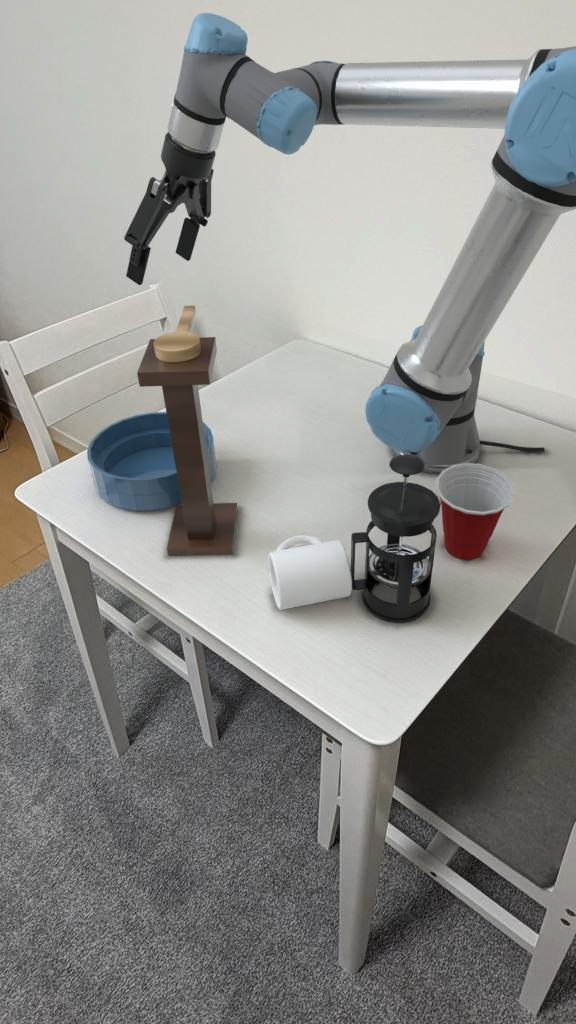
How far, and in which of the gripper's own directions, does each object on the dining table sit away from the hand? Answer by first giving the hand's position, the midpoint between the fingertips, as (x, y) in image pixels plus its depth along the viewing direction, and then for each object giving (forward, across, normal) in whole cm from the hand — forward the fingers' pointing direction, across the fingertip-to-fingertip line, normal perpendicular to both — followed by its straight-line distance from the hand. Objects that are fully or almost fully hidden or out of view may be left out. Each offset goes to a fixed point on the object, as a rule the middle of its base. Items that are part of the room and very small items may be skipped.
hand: (159, 267), depth 114 cm
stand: (+20, +24, +32) cm, 45 cm away
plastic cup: (+4, +10, +67) cm, 68 cm away
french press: (+7, +25, +62) cm, 67 cm away
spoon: (-7, +20, +17) cm, 27 cm away
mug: (+12, +28, +51) cm, 59 cm away
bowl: (+27, +15, +18) cm, 35 cm away
